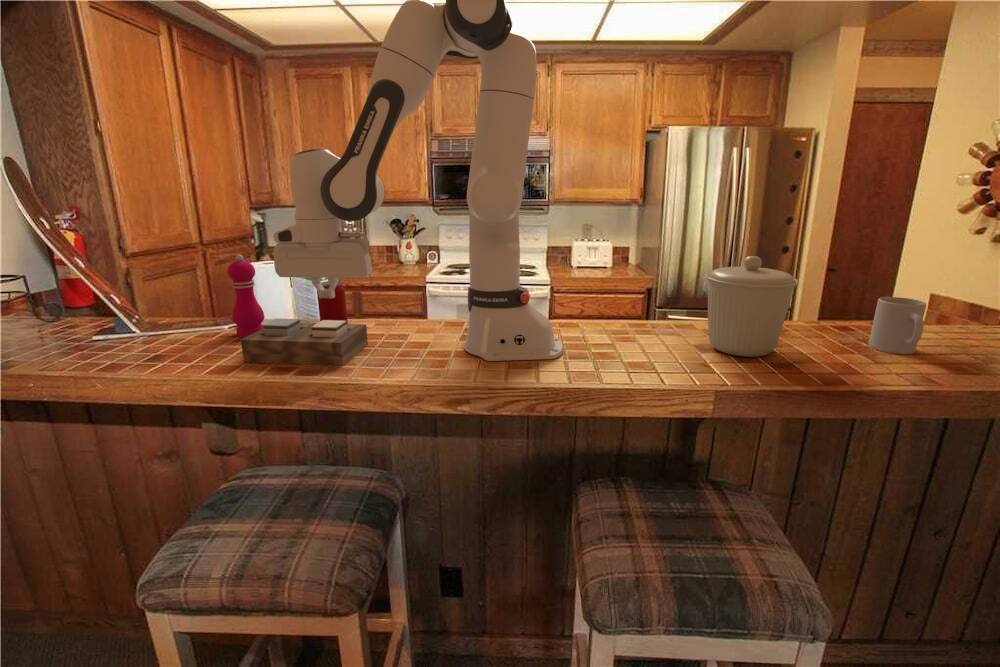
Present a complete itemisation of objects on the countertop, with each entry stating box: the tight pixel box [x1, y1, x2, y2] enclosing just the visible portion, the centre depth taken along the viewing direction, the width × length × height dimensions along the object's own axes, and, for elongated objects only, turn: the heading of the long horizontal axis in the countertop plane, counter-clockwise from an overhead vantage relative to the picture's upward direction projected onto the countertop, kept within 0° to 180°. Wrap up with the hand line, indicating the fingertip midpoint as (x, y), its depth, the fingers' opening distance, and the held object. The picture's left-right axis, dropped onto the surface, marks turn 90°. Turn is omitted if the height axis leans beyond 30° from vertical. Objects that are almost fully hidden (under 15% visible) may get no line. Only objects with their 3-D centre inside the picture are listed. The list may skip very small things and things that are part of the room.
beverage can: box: [316, 280, 349, 324], centre depth 130 cm, size 7×7×12 cm
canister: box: [704, 255, 800, 358], centre depth 109 cm, size 18×18×21 cm
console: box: [240, 322, 369, 367], centre depth 111 cm, size 22×14×5 cm, turn 83°
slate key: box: [262, 318, 301, 336], centre depth 111 cm, size 6×6×5 cm
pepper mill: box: [227, 254, 265, 338], centre depth 124 cm, size 7×7×20 cm
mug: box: [868, 296, 927, 355], centre depth 110 cm, size 12×8×11 cm
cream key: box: [311, 320, 348, 338], centre depth 110 cm, size 6×6×5 cm
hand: (327, 297), depth 108 cm, fingers closed
